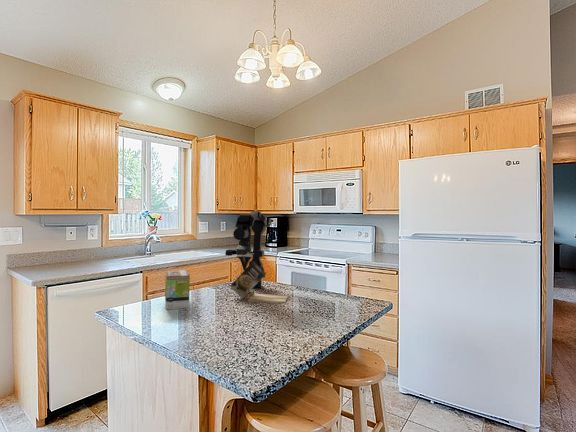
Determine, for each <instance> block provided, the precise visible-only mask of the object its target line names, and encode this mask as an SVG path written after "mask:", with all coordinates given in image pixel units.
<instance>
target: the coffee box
mask: <svg viewBox="0 0 576 432" xmlns="http://www.w3.org/2000/svg"><path fill="white" fill-rule="evenodd" d="M264 271H265V270H264ZM264 271H263V270H262V269H261V268H260V267H259V266H258V265H257V264H256V263H255V262H252V263H251V264H250V265H249V264H248V265H247V268H246V269H245V270H243V271H242V273H240V275H239V276H238V277H237V278H236V279H235V280H234V281H233V282H232V283H231V284H230V285H229V287H230V288H231V289H232V290H233V291H234V292H235V293H236V294H237V295H238V296H239V297H240V298H241V299H245V295H247V294H248V293H249V292H250V291H251V290H253V289H252V288H253V287H254V286H255V285H256V284H257V283H258V282H259V281H260V280H261V279H262V280H263V279H264V278H265V277H266V275H267V273H266V272H264ZM264 276H265V277H264ZM263 277H264V278H263Z"/></svg>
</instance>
